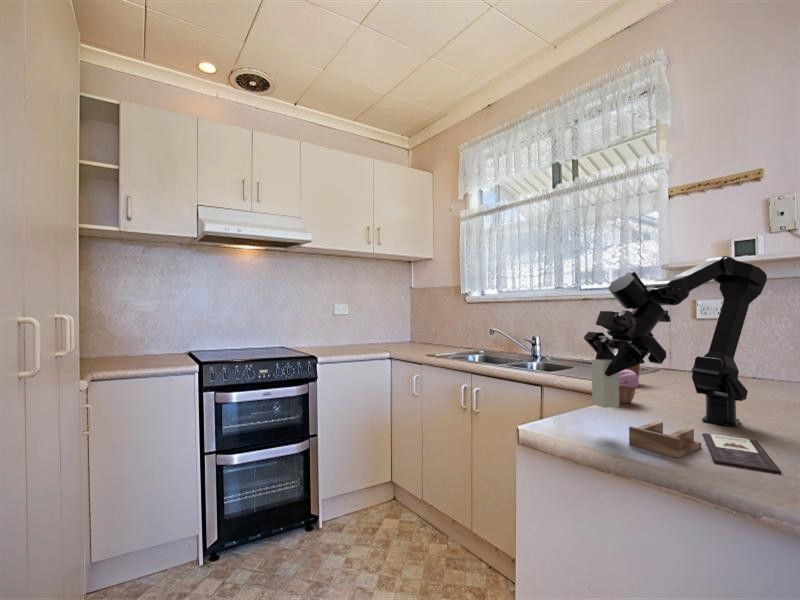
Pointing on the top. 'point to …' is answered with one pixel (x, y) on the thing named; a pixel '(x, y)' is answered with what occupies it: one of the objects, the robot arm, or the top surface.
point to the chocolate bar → (739, 453)
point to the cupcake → (627, 385)
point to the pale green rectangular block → (604, 385)
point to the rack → (663, 439)
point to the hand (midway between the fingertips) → (600, 373)
